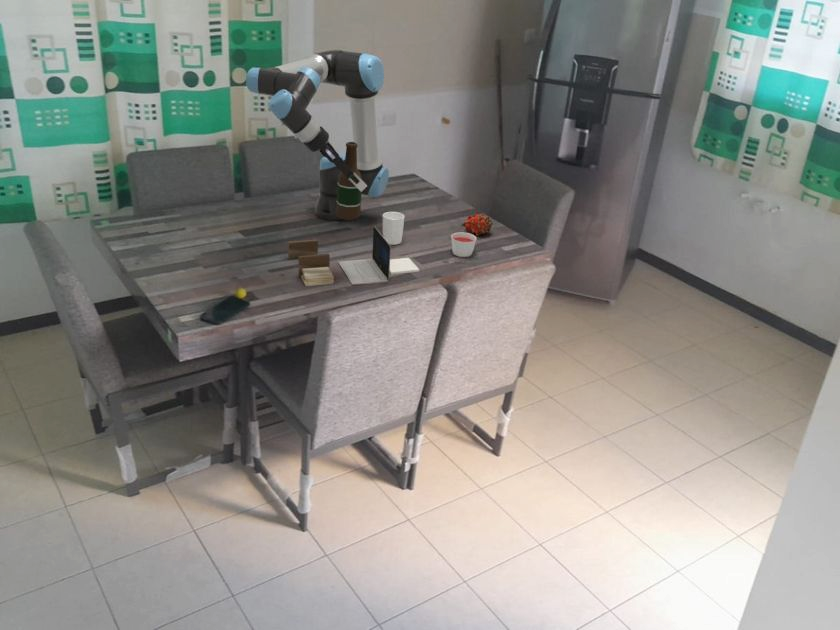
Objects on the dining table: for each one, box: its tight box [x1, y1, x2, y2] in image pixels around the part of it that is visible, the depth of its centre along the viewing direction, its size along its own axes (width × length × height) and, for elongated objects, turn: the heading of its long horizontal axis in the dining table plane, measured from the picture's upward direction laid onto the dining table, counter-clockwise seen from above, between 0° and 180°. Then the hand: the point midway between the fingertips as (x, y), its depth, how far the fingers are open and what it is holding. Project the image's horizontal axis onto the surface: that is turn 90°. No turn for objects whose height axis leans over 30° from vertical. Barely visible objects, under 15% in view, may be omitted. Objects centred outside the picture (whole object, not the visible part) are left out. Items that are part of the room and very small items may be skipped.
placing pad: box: [389, 257, 420, 275], centre depth 268 cm, size 10×10×1 cm
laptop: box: [338, 225, 392, 285], centre depth 260 cm, size 18×12×13 cm
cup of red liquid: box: [450, 231, 477, 258], centre depth 281 cm, size 9×9×6 cm
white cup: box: [382, 211, 405, 246], centre depth 286 cm, size 8×8×10 cm
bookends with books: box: [287, 239, 335, 287], centre depth 260 cm, size 23×10×7 cm, turn 22°
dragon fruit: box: [461, 213, 493, 237], centre depth 299 cm, size 8×8×12 cm
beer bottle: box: [336, 141, 363, 221], centre depth 249 cm, size 8×8×24 cm
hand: (360, 184), depth 251 cm, fingers closed on beer bottle, 7 cm apart
